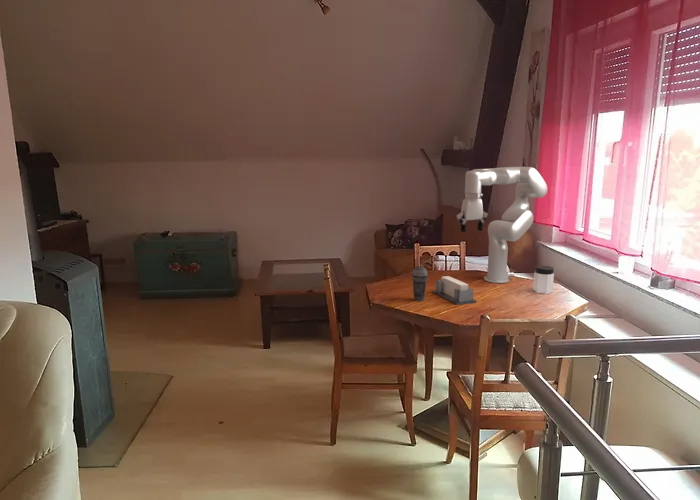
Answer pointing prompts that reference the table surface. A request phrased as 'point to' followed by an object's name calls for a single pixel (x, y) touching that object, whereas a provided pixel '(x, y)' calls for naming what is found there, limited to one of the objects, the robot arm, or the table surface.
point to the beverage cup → (419, 282)
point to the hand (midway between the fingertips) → (471, 231)
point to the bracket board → (455, 295)
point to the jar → (543, 279)
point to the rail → (452, 285)
